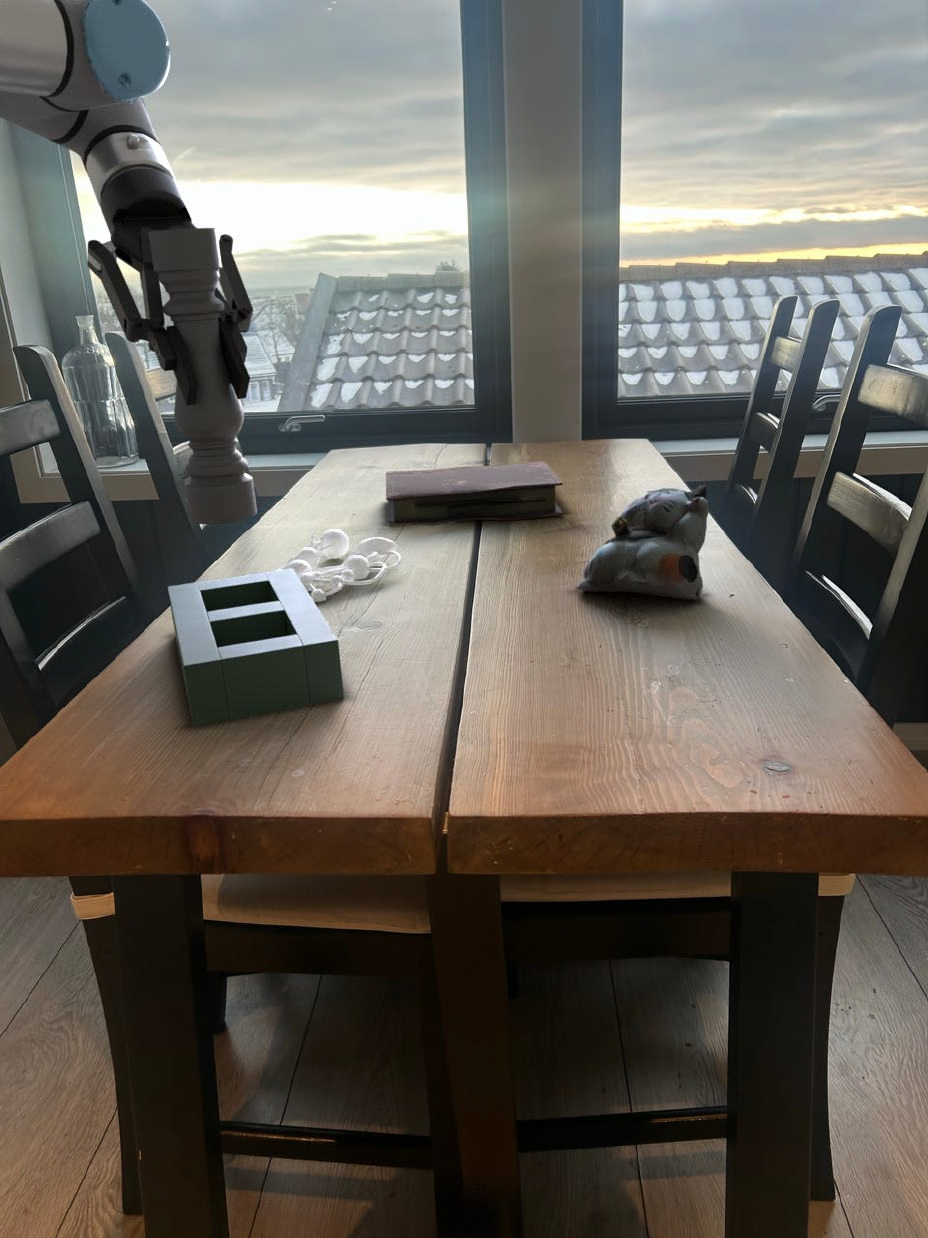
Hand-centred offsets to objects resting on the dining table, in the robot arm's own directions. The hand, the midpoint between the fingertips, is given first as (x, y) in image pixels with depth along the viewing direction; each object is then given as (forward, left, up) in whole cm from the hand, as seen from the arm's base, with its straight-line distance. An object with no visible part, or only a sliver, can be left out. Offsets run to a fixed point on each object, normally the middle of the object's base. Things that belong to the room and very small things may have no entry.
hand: (218, 391), depth 86 cm
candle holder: (-1, +4, -12) cm, 13 cm away
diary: (+39, +49, -26) cm, 68 cm away
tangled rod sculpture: (+13, +23, -26) cm, 38 cm away
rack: (0, 0, -26) cm, 26 cm away
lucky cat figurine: (+43, +2, -26) cm, 50 cm away
